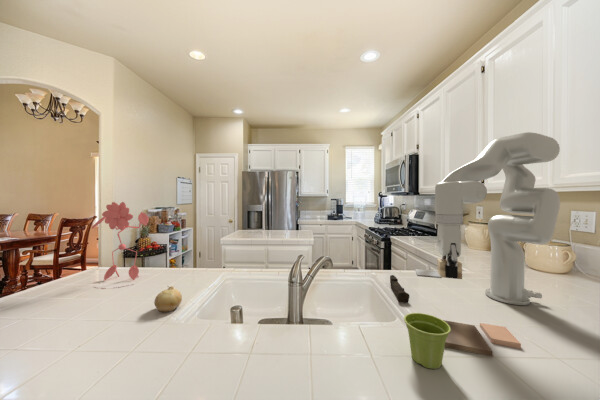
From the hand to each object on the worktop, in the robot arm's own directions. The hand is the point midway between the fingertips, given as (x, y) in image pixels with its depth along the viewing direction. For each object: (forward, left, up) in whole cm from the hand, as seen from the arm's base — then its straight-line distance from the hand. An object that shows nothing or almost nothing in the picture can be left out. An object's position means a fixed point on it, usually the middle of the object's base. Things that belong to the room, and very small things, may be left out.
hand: (449, 274), depth 75 cm
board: (+3, +15, -12) cm, 19 cm away
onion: (+87, +32, -13) cm, 94 cm away
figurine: (+129, +23, -13) cm, 132 cm away
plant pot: (+11, +28, -13) cm, 32 cm away
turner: (+3, 0, 0) cm, 3 cm away
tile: (-9, +6, -12) cm, 17 cm away
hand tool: (+16, -12, -13) cm, 24 cm away
